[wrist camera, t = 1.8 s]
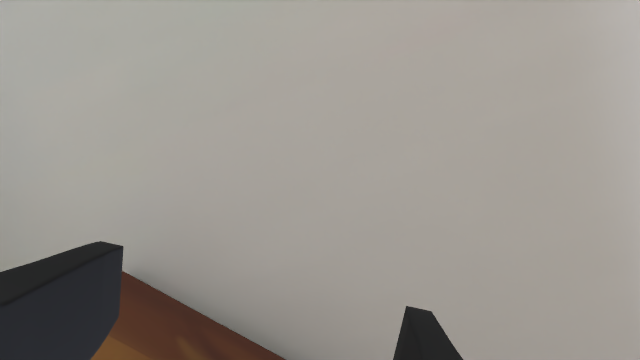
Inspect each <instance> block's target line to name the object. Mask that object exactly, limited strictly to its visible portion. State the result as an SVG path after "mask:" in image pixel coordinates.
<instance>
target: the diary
mask: <svg viewBox="0 0 640 360" xmlns="http://www.w3.org/2000/svg"><path fill="white" fill-rule="evenodd" d="M90 360H285V359H283V358H282V357H280V356H278V355H276V354H274V353H272V352H271V351H269V350H267V349H265V348H263V347H261V346H260V345H258V344H256V343H254V342H252V341H250V340H249V339H247V338H245V337H243V336H241V335H239V334H237V333H236V332H234V331H232V330H230V329H228V328H226V327H225V326H223V325H221V324H219V323H217V322H215V321H214V320H212V319H210V318H208V317H206V316H204V315H202V314H201V313H199V312H197V311H195V310H193V309H191V308H190V307H188V306H186V305H184V304H182V303H180V302H179V301H177V300H175V299H173V298H171V297H169V296H167V295H166V294H164V293H162V292H160V291H158V290H156V289H155V288H153V287H151V286H149V285H147V284H145V283H144V282H142V281H140V280H138V279H136V278H134V277H133V276H131V275H129V274H127V273H125V272H123V271H122V276H121V293H120V309H119V317H118V319H117V321H116V322H115V324H114V326H113V327H112V329H111V331H110V332H109V334H108V336H107V337H106V339H105V340H104V342H103V344H102V345H101V347H100V348H99V349H98V351H97V352H96V353H95V354H94V356H93V357H92V358H91V359H90Z"/></svg>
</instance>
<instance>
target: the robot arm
mask: <svg viewBox="0 0 640 360" xmlns="http://www.w3.org/2000/svg"><path fill="white" fill-rule="evenodd" d="M122 260H123V246H120V245H115V244H111V243H106V242H101V241H100V242H95V243H91V244H87V245H84V246H81V247H78V248H75V249H71V250H68V251H66V252H63V253H60V254H57V255H54V256H51V257H48V258H45V259H42V260H39V261H36V262H33V263H30V264H26V265H23V266H20V267H16V268H13V269H10V270H6V271H3V272H0V360H90V359H91V358H92V357H93V356H94V354H95V353H96V352H97V351H98V349H99V348H100V347H101V345H102V344H103V342H104V340H105V339H106V337H107V336H108V334H109V332H110V331H111V329H112V327H113V326H114V324H115V322H116V321H117V319H118V317H119V309H120V293H121V276H122ZM393 360H463V359H462V357H461V356H460V355H459V353H458V352H457V350H456V349H455V347H454V346H453V344H452V343H451V341H450V340H449V338H448V337H447V335H446V334H445V332H444V331H443V329H442V327H441V326H440V324H439V323H438V321H437V320H436V318H435V316H434V315H433V313H432V312H431V311H427V310H422V309H418V308H413V307H408V306H406V309H405V314H404V318H403V322H402V326H401V330H400V334H399V338H398V342H397V346H396V350H395V354H394V358H393Z"/></svg>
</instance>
